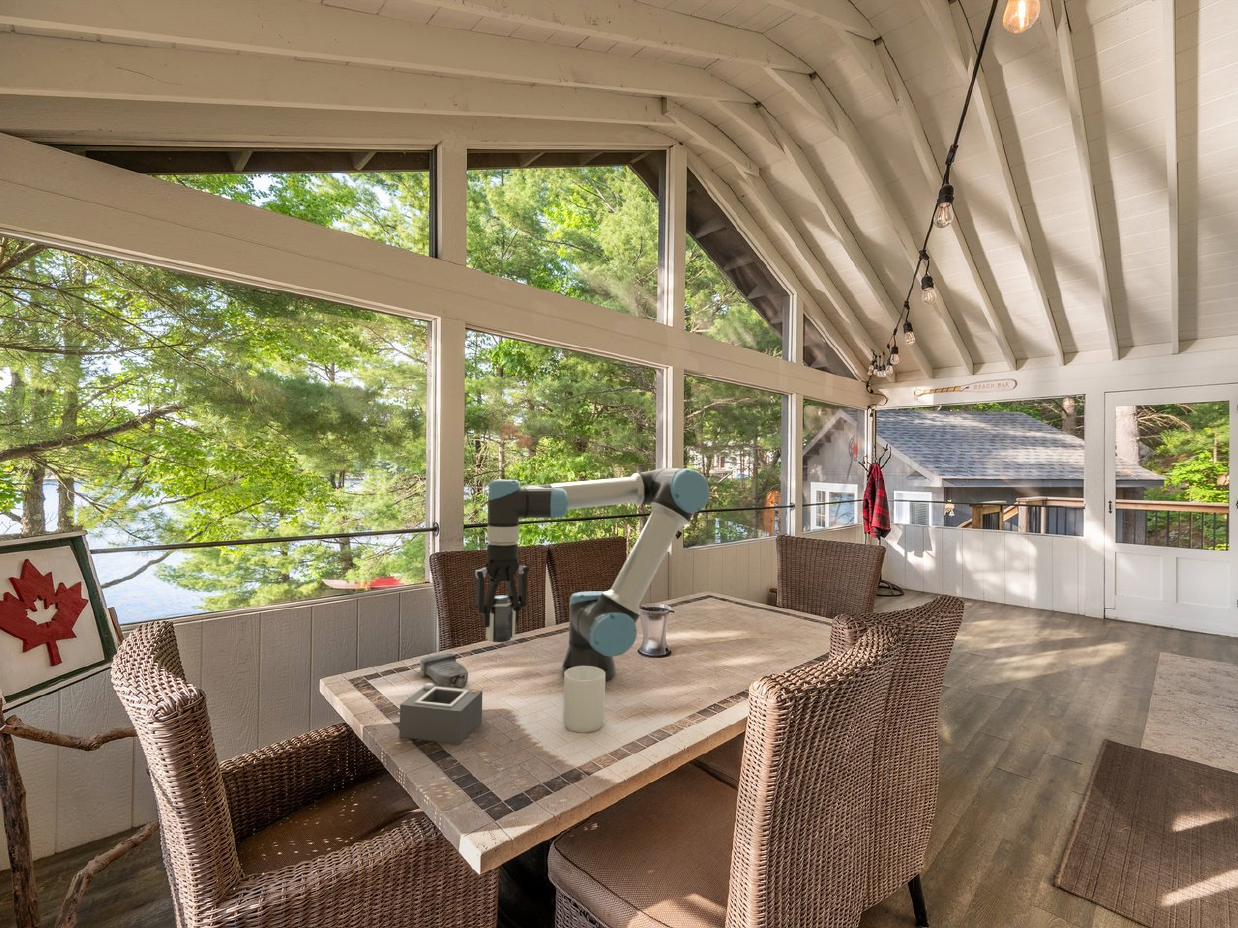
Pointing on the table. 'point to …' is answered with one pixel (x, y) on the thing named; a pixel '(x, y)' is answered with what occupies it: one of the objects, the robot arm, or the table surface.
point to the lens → (502, 618)
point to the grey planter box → (441, 714)
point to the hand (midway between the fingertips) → (500, 637)
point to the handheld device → (444, 670)
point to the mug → (584, 698)
